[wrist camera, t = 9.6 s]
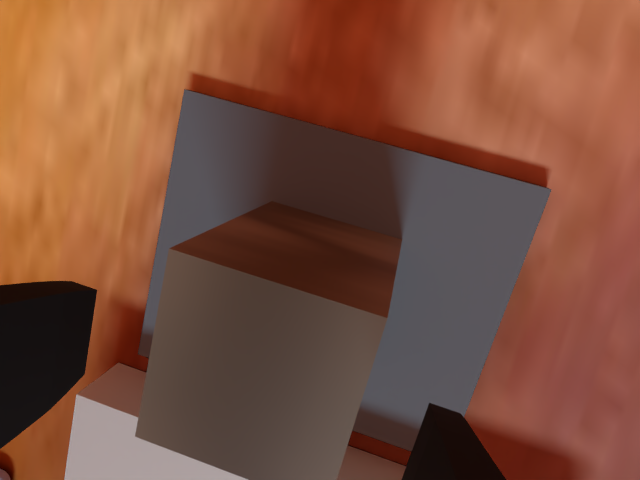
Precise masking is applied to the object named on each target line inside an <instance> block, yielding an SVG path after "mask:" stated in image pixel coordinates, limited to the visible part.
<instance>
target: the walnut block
mask: <svg viewBox="0 0 640 480" xmlns="http://www.w3.org/2000/svg"><path fill="white" fill-rule="evenodd" d="M401 244H402V239H398V238H395V237H392V236H388V235H385V234H381V233H378V232H375V231H371V230H368V229H365V228H361V227H358V226H354V225H351V224H348V223H344V222H341V221H338V220H334V219H331V218H327V217H324V216H321V215H317V214H314V213H311V212H307V211H304V210H300V209H297V208H294V207H290V206H287V205H283V204H280V203H277V202H273V201H271V202H269V203H267V204H264V205H262V206H260V207H258V208H256V209H253V210H251V211H249V212H247V213H245V214H243V215H240V216H238V217H236V218H234V219H232V220H230V221H227V222H225V223H223V224H221V225H219V226H217V227H214V228H212V229H210V230H208V231H206V232H204V233H201V234H199V235H197V236H195V237H193V238H191V239H188V240H186V241H184V242H182V243H180V244H178V245H175V246H173V247H171V248H169V251H168V256H167V262H166V267H165V273H164V278H163V284H162V290H161V295H160V301H159V306H158V312H157V317H156V323H155V328H154V334H153V339H152V345H151V350H150V356H149V361H148V367H147V372H146V378H145V383H144V389H143V395H142V400H141V406H140V411H139V417H138V422H137V428H136V433H135V437H137V438H140V439H142V440H145V441H148V442H150V443H153V444H156V445H158V446H161V447H164V448H166V449H169V450H171V451H174V452H177V453H179V454H182V455H185V456H187V457H190V458H193V459H195V460H198V461H200V462H203V463H206V464H208V465H211V466H214V467H216V468H219V469H221V470H224V471H227V472H229V473H232V474H235V475H237V476H240V477H243V478H245V479H248V480H337V477H338V474H339V471H340V467H341V464H342V461H343V458H344V455H345V451H346V448H347V445H348V442H349V439H350V436H351V432H352V429H353V426H354V423H355V420H356V417H357V413H358V410H359V407H360V404H361V401H362V398H363V394H364V391H365V388H366V385H367V382H368V379H369V375H370V372H371V369H372V366H373V363H374V360H375V356H376V353H377V350H378V347H379V344H380V341H381V337H382V334H383V331H384V328H385V325H386V321H387V318H388V313H389V308H390V302H391V297H392V292H393V287H394V281H395V276H396V271H397V265H398V260H399V255H400V249H401Z"/></svg>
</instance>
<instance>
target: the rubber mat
mask: <svg viewBox="0 0 640 480" xmlns="http://www.w3.org/2000/svg"><path fill="white" fill-rule="evenodd" d="M550 192H551V189H549V188H546V187H543V186H539V185H535V184H532V183H528V182H524V181H521V180H517V179H513V178H510V177H506V176H502V175H499V174H495V173H491V172H488V171H484V170H480V169H477V168H473V167H469V166H466V165H462V164H458V163H455V162H451V161H447V160H444V159H440V158H436V157H433V156H429V155H425V154H422V153H418V152H414V151H411V150H407V149H403V148H400V147H396V146H392V145H389V144H385V143H381V142H378V141H374V140H370V139H367V138H363V137H359V136H356V135H352V134H348V133H345V132H341V131H337V130H334V129H330V128H326V127H323V126H319V125H315V124H312V123H308V122H304V121H301V120H297V119H293V118H290V117H286V116H282V115H279V114H275V113H271V112H268V111H264V110H260V109H257V108H253V107H249V106H246V105H242V104H238V103H235V102H231V101H227V100H224V99H220V98H216V97H213V96H209V95H205V94H202V93H198V92H194V91H190V90H185V89H184V95H183V101H182V106H181V112H180V118H179V123H178V129H177V135H176V140H175V146H174V152H173V157H172V163H171V169H170V175H169V180H168V186H167V192H166V197H165V203H164V209H163V214H162V220H161V226H160V231H159V237H158V243H157V248H156V254H155V260H154V265H153V271H152V277H151V282H150V288H149V294H148V299H147V305H146V311H145V316H144V322H143V328H142V333H141V339H140V345H139V350H138V354H139V355H142V356H145V357H147V358H149V356H150V350H151V345H152V339H153V334H154V328H155V323H156V317H157V312H158V306H159V301H160V295H161V290H162V284H163V278H164V273H165V267H166V262H167V256H168V251H169V248H171V247H173V246H175V245H178V244H180V243H182V242H184V241H186V240H188V239H191V238H193V237H195V236H197V235H199V234H201V233H204V232H206V231H208V230H210V229H212V228H214V227H217V226H219V225H221V224H223V223H225V222H227V221H230V220H232V219H234V218H236V217H238V216H240V215H243V214H245V213H247V212H249V211H251V210H253V209H256V208H258V207H260V206H262V205H264V204H267V203H269V202H271V201H273V202H277V203H280V204H283V205H287V206H290V207H294V208H297V209H300V210H304V211H307V212H311V213H314V214H317V215H321V216H324V217H327V218H331V219H334V220H338V221H341V222H344V223H348V224H351V225H354V226H358V227H361V228H365V229H368V230H371V231H375V232H378V233H381V234H385V235H388V236H392V237H395V238H398V239H402V244H401V249H400V255H399V260H398V265H397V271H396V276H395V281H394V287H393V292H392V297H391V302H390V308H389V313H388V318H387V321H386V325H385V328H384V331H383V334H382V337H381V341H380V344H379V347H378V350H377V353H376V356H375V360H374V363H373V366H372V369H371V372H370V375H369V379H368V382H367V385H366V388H365V391H364V394H363V398H362V401H361V404H360V407H359V410H358V413H357V417H356V420H355V423H354V426H353V429H352V431H355V432H358V433H361V434H363V435H366V436H369V437H372V438H375V439H377V440H380V441H383V442H386V443H389V444H392V445H394V446H397V447H400V448H403V449H406V450H408V451H411V452H412V449H413V446H414V444H415V441H416V438H417V435H418V433H419V430H420V427H421V424H422V421H423V419H424V416H425V413H426V410H427V407H428V405H429V403H432V404H435V405H438V406H441V407H444V408H447V409H450V410H452V411H455V412H458V413H461V414H462V416H463V417H464V415H465V413H466V410H467V408H468V405H469V402H470V400H471V397H472V395H473V392H474V389H475V387H476V384H477V382H478V379H479V376H480V374H481V371H482V369H483V366H484V363H485V361H486V358H487V356H488V353H489V350H490V348H491V345H492V343H493V340H494V337H495V335H496V332H497V330H498V327H499V324H500V322H501V319H502V317H503V314H504V311H505V309H506V306H507V304H508V301H509V299H510V296H511V293H512V291H513V288H514V286H515V283H516V280H517V278H518V275H519V273H520V270H521V267H522V265H523V262H524V260H525V257H526V254H527V252H528V249H529V247H530V244H531V241H532V239H533V236H534V234H535V231H536V228H537V226H538V223H539V221H540V218H541V215H542V213H543V210H544V208H545V205H546V202H547V200H548V197H549V195H550Z"/></svg>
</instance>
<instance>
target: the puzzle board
mask: <svg viewBox="0 0 640 480" xmlns="http://www.w3.org/2000/svg"><path fill="white" fill-rule="evenodd" d="M145 378H146V372H143V371H140V370H138V369H135V368H132V367H129V366H127V365H124V364H121V363H117V364H116V365H115V366H113V367H112V368H111V369H109V370H108V371H107V372H105V373H104V374H103V375H101V376H100V377H99V378H97V379H96V380H95V381H93V382H92V383H91V384H90V385H88V386H87V387H86V388H84V389H83V390H82V391H80V392H79V393H78V394H76V401H75V408H74V415H73V422H72V429H71V436H70V443H69V450H68V457H67V464H66V471H65V478H64V480H248V479H245V478H243V477H240V476H237V475H235V474H232V473H229V472H227V471H224V470H221V469H219V468H216V467H214V466H211V465H208V464H206V463H203V462H200V461H198V460H195V459H193V458H190V457H187V456H185V455H182V454H179V453H177V452H174V451H171V450H169V449H166V448H164V447H161V446H158V445H156V444H153V443H150V442H148V441H145V440H142V439H140V438H137V437H135V433H136V428H137V422H138V417H139V411H140V406H141V400H142V395H143V389H144V383H145ZM405 469H406V466H404V465H401V464H398V463H395V462H393V461H390V460H387V459H384V458H381V457H379V456H376V455H373V454H370V453H368V452H365V451H362V450H359V449H357V448H354V447H351V446H348V445H347V448H346V451H345V455H344V458H343V461H342V464H341V467H340V471H339V474H338V477H337V480H402V477H403V474H404V472H405Z"/></svg>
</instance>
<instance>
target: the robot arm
mask: <svg viewBox="0 0 640 480" xmlns="http://www.w3.org/2000/svg"><path fill="white" fill-rule="evenodd" d="M96 294H97V290H96V289H93V288H90V287H87V286H84V285H81V284H78V283H75V282H72V281H47V282H32V283H21V284H10V285H0V449H1V448H2V447H3V446H4V445H6V444H7V443H8V442H10V441H11V440H12V439H14V438H15V437H16V436H17V435H19V434H20V433H21V432H22V431H24V430H25V429H26V428H27V427H29V426H30V425H31V424H33V423H34V422H35V421H36V420H38V419H39V418H40V417H41V416H43V415H44V414H45V413H46V412H47V411H49V410H50V409H51V408H52V407H53V406H54V405H55V404H56V403H57V402H58V401H59V400H60V399H61V398H62V397H63V396H64V395H65V394H66V393H67V392H68V391H69V390H70V389H71V388H72V387H73V386H74V385H75V384H76V383H77V382H78V380H79V379H80V378H81V377H82V376H83V375H84V374H85V368H86V361H87V354H88V347H89V341H90V334H91V327H92V321H93V314H94V307H95V301H96ZM0 480H10V477H9V475H8V473H7V472H6V471H4V470H2V469H0ZM402 480H506V479H505V477H504V476H503V475H502V473H501V472H500V470H499V469H498V467H497V466H496V464H495V463H494V462H493V460H492V459H491V457H490V456H489V454H488V453H487V451H486V450H485V448H484V447H483V445H482V444H481V442H480V441H479V439H478V438H477V436H476V435H475V433H474V432H473V430H472V429H471V427H470V426H469V424H468V423H467V421H466V420H465V418H464V417H463V416H462V414H461V413H458V412H455V411H452V410H450V409H447V408H444V407H441V406H438V405H435V404H432V403H429V405H428V407H427V410H426V413H425V416H424V419H423V421H422V424H421V427H420V430H419V433H418V435H417V438H416V441H415V444H414V446H413V449H412V452H411V455H410V458H409V460H408V463H407V466H406V469H405V472H404V474H403V477H402Z"/></svg>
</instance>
